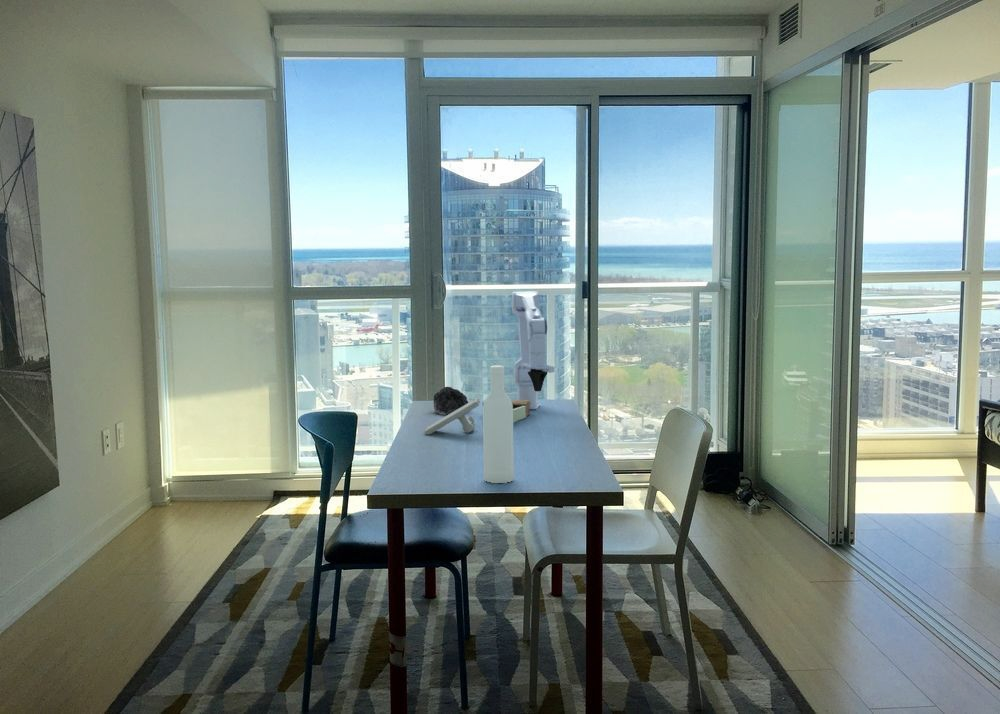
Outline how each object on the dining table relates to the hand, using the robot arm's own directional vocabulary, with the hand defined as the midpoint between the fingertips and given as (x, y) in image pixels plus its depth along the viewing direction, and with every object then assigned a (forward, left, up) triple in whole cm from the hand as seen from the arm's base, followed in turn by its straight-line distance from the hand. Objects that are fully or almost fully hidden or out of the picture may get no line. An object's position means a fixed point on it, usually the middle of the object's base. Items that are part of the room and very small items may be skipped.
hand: (537, 390), depth 288 cm
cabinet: (-5, -12, -10) cm, 17 cm away
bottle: (+78, +3, -10) cm, 79 cm away
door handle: (+20, -25, -11) cm, 34 cm away
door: (+7, -7, -10) cm, 14 cm away
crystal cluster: (-9, -34, -10) cm, 37 cm away
